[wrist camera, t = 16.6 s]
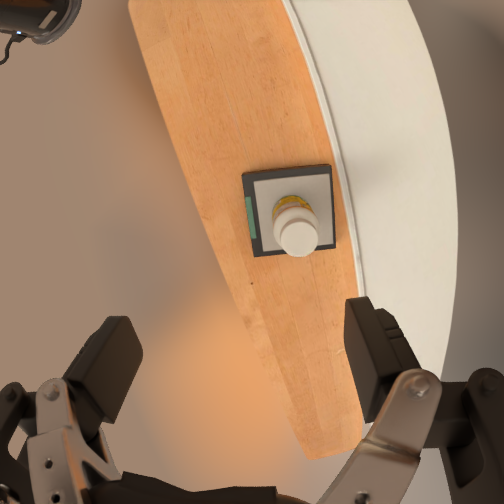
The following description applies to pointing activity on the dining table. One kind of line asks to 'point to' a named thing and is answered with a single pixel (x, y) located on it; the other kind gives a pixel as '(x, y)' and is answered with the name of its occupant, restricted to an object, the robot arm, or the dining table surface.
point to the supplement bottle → (295, 226)
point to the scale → (279, 185)
